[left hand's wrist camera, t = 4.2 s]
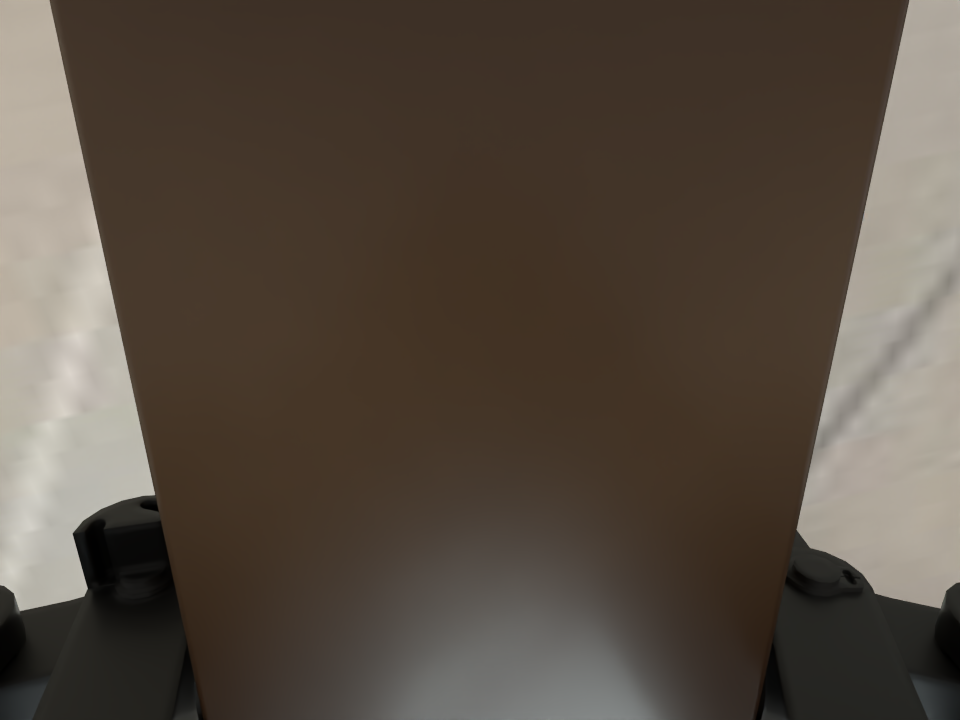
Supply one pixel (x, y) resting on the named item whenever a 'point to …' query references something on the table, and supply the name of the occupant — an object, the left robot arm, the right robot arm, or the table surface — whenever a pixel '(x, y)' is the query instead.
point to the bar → (479, 333)
